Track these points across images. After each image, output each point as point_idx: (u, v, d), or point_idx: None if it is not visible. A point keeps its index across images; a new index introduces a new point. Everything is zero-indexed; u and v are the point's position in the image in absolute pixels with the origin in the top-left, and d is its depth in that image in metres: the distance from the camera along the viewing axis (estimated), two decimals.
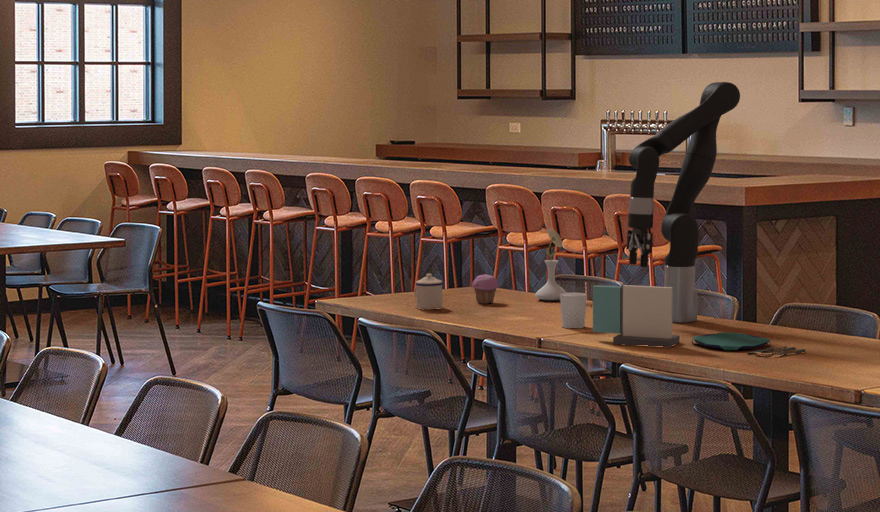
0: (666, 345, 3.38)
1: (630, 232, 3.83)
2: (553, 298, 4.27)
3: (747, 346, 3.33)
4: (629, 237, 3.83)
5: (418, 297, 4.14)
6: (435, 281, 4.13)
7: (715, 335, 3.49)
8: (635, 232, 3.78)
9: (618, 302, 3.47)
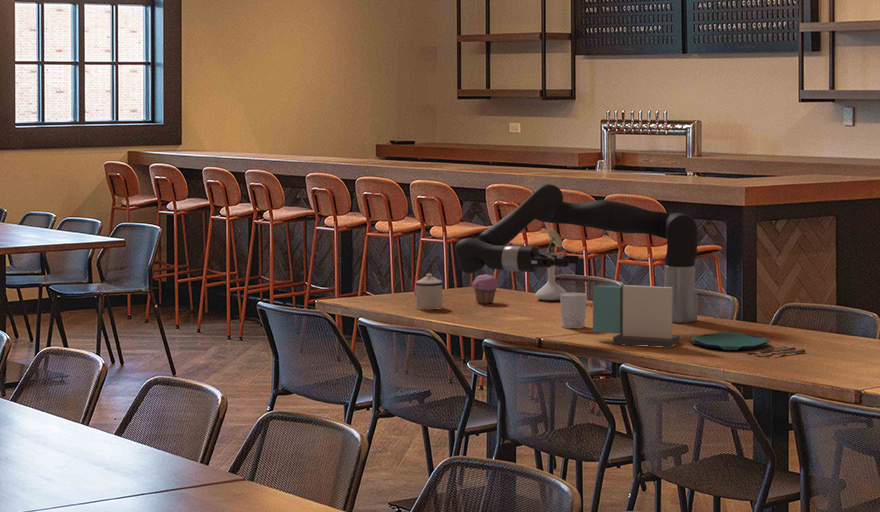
0: (666, 345, 3.38)
1: None
2: (553, 298, 4.27)
3: (747, 346, 3.33)
4: None
5: (418, 297, 4.14)
6: (435, 281, 4.13)
7: (714, 335, 3.49)
8: None
9: (618, 302, 3.47)
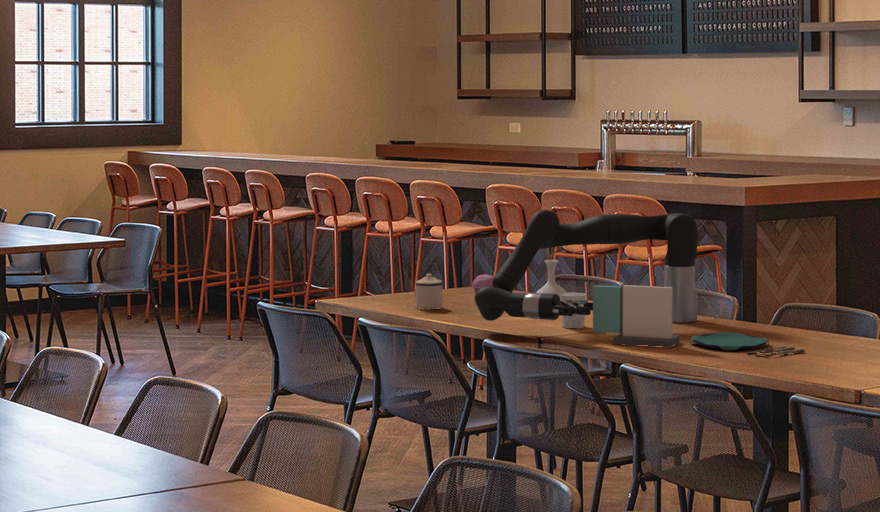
0: (666, 345, 3.38)
1: None
2: None
3: (746, 346, 3.33)
4: None
5: (418, 297, 4.14)
6: (435, 281, 4.13)
7: (713, 335, 3.49)
8: None
9: (618, 302, 3.47)
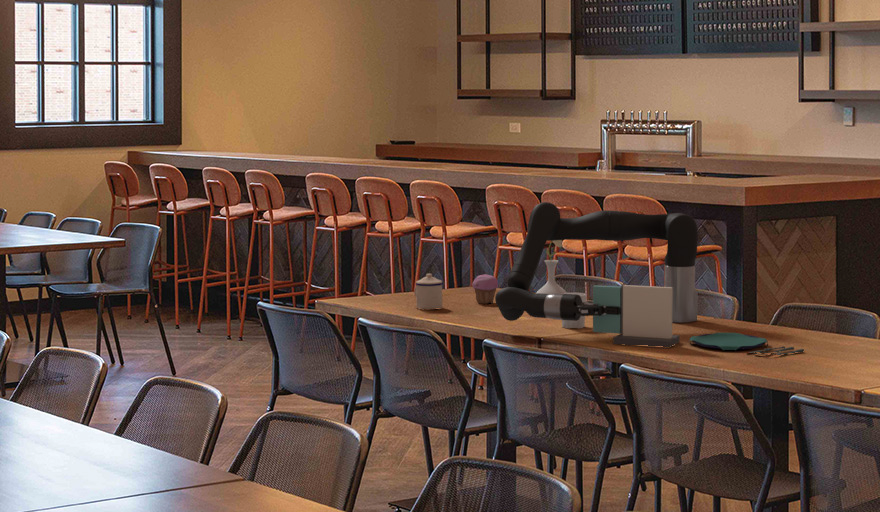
0: (666, 345, 3.38)
1: None
2: None
3: (746, 346, 3.33)
4: None
5: (418, 297, 4.14)
6: (435, 281, 4.13)
7: (712, 335, 3.49)
8: None
9: (618, 302, 3.47)
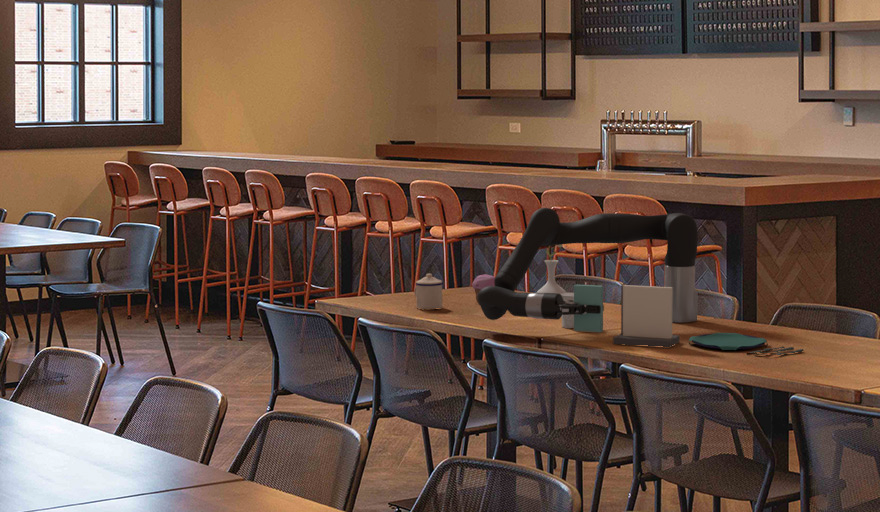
0: (666, 345, 3.38)
1: None
2: None
3: (745, 346, 3.33)
4: None
5: (418, 297, 4.14)
6: (435, 281, 4.13)
7: (711, 335, 3.49)
8: None
9: (599, 301, 3.49)
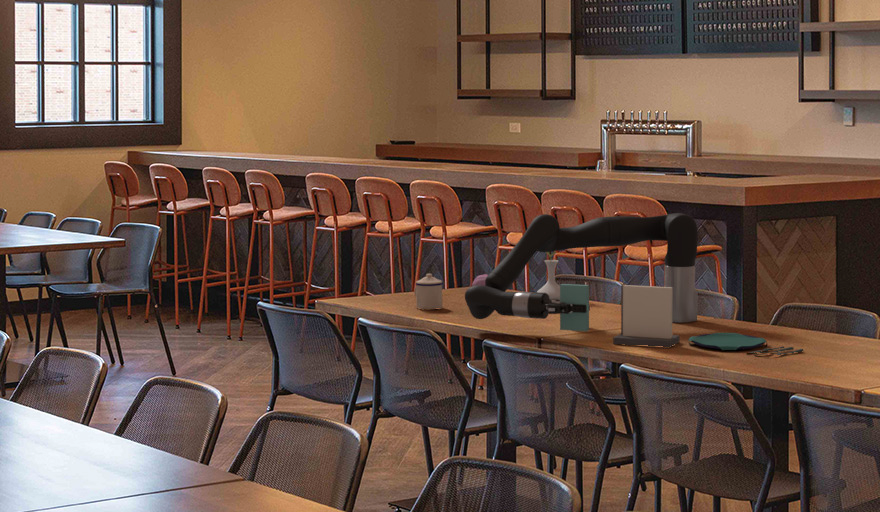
0: (666, 345, 3.38)
1: None
2: (553, 298, 4.27)
3: (745, 346, 3.33)
4: None
5: (418, 297, 4.14)
6: (435, 281, 4.13)
7: (711, 335, 3.49)
8: None
9: (585, 300, 3.51)
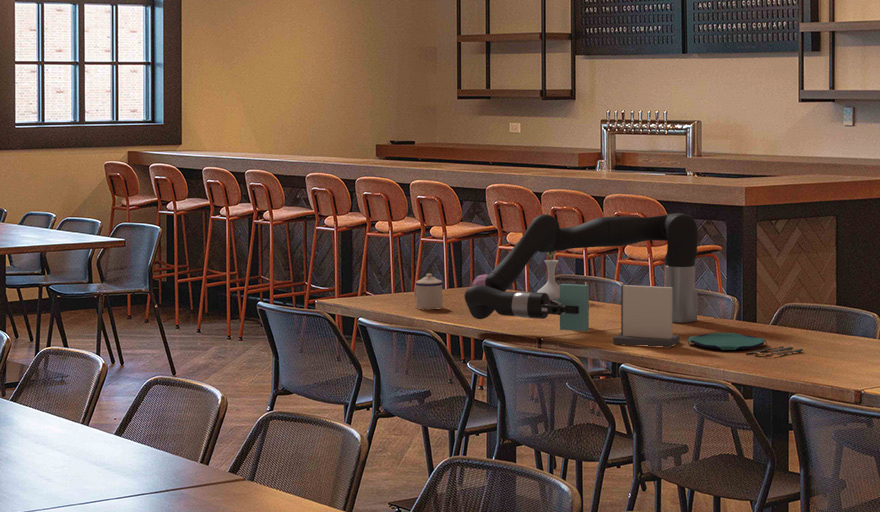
0: (666, 345, 3.38)
1: None
2: (553, 298, 4.27)
3: (745, 346, 3.33)
4: None
5: (418, 297, 4.14)
6: (435, 281, 4.13)
7: (710, 335, 3.49)
8: None
9: (584, 300, 3.51)
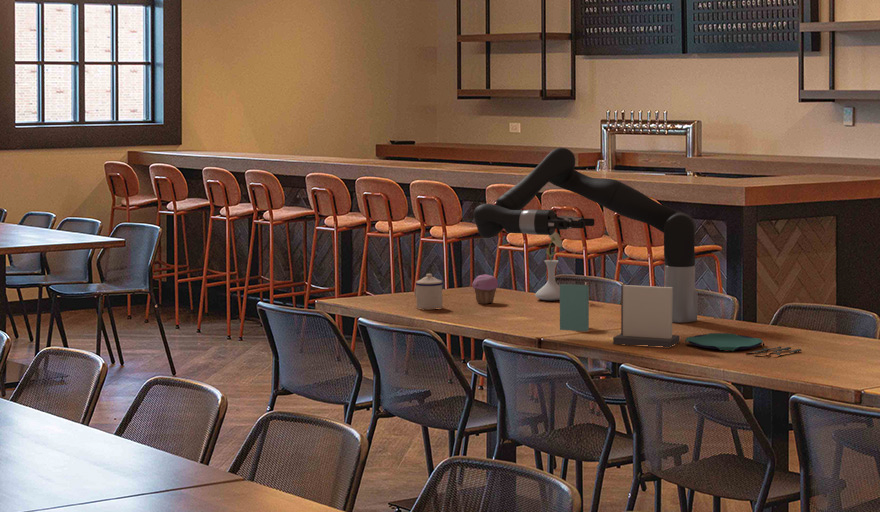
0: (666, 345, 3.38)
1: None
2: (553, 298, 4.27)
3: None
4: None
5: (418, 297, 4.14)
6: (435, 281, 4.13)
7: (706, 336, 3.49)
8: None
9: (584, 300, 3.51)
